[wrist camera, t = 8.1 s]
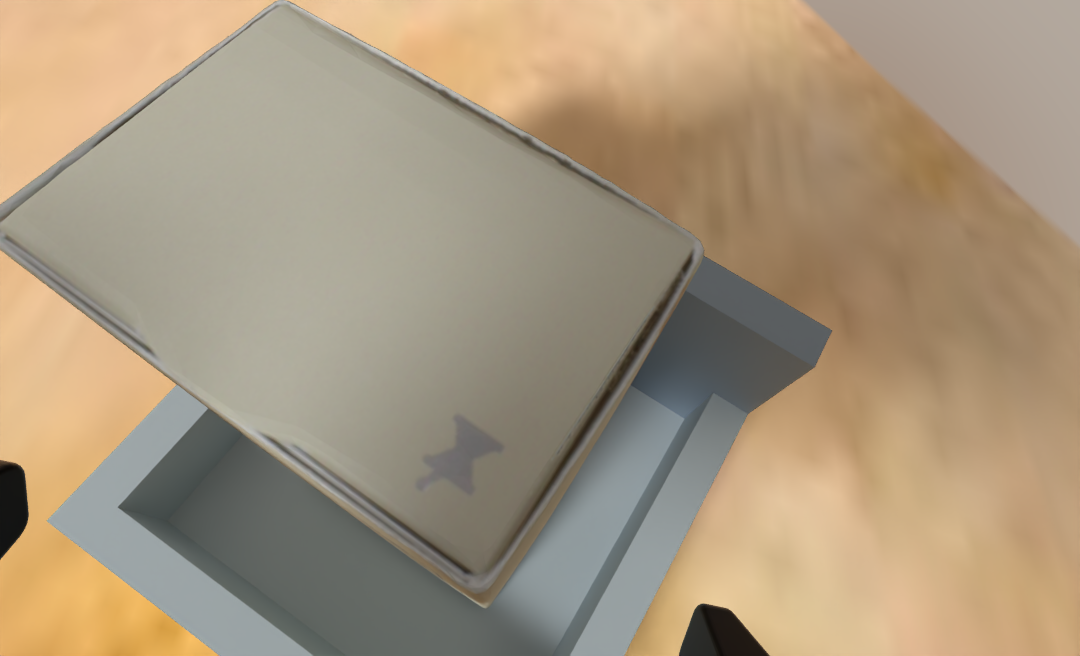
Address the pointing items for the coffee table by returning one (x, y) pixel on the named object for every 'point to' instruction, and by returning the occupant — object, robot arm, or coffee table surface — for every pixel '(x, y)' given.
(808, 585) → the coffee table surface
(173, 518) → the seat tray
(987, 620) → the coffee table surface
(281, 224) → the skincare box
